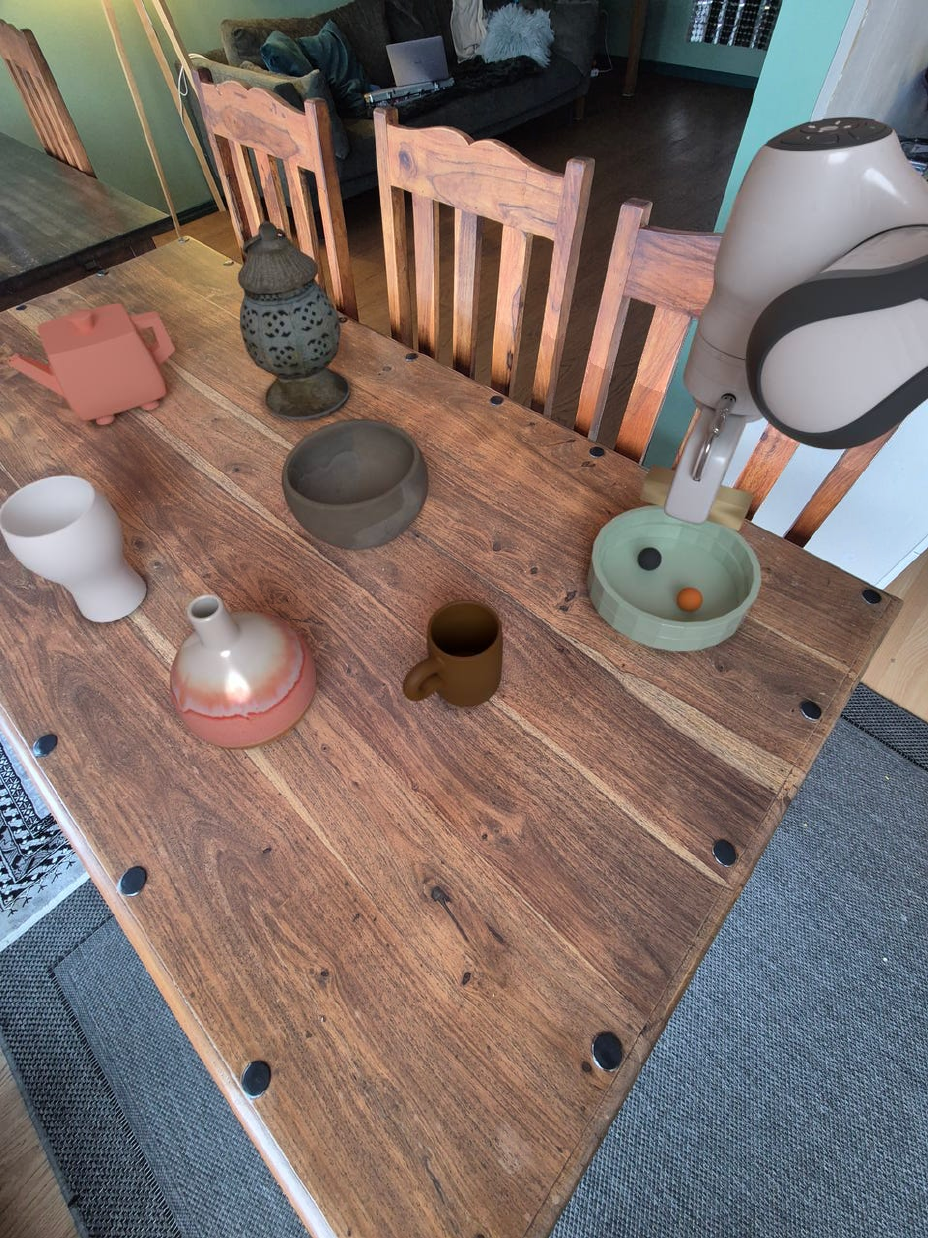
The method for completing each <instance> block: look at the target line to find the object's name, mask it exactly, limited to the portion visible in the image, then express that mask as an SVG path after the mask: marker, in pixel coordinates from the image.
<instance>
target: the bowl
mask: <svg viewBox="0 0 928 1238" xmlns="http://www.w3.org/2000/svg"><path fill="white" fill-rule="evenodd" d="M429 480H430V479H429V471H428V466H427V463H426V460H425V457H424V455H423V452H422V450H421V448H420V446H419V444H418V443H417V442H416V440H415V439H414V438H413V436H412V435H410V433H408V432H407V431H406V430H405V429H403V428H402V427H400V426H397V425H395V424H393V423H391V422H386V421H383V420H378V419H369V418H353V419H352V418H350V419H344V420H338V421H335V422H332V423H329V424H326V425H324V426H322V427H320V428H318V429H316V430H314V431H312V432H310V433H308V434H307V435H305V436H304V437H303V438H302V439H301V440H299V441H298V442H297V443H296V444H295V445H294V446H293V447H292V449H291V450H290V451H289V452H288V455H287V456H286V457H285V459H284V462H283V465H282V471H281V487H282V491H283V496H284V499H285V502H286V505H287V507H288V509H289V510H290V512H291V515H292V516H293V517H294V518H295V520H296V522H297V523H298V524H299V525H300V527H302V528H303V530H305V532H307V533H308V534H310V535H311V536H313V537H314V538H316V539H318V540H320V541H321V542H323V543H326V544H327V545H330V546H333V547H336V548H338V549H343V550H347V551H364V550H370V549H375V548H379V547H383V546H384V545H387V544H389V543H391V542H392V541H394V540H395V539H396V538H397V537H399V536H400V535H402V534H403V533H404V532H405V531H406V530H407V529H408V528H409V527H410V526H411V525H412V524H413V523H414V522H415V520H416V519H417V518H418V516H419V515H420V513H421V512H422V510H423V508H424V506H425V504H426V500H427V498H428V494H429V484H430V483H429V482H430V481H429Z"/></svg>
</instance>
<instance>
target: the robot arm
mask: <svg viewBox="0 0 928 1238" xmlns="http://www.w3.org/2000/svg"><path fill="white" fill-rule="evenodd" d="M721 236H722V237H721V240H720V243H719V247H718V250H717V253H716V257H715V261H714V264H713V285H712V290H711V294H710V296H709V299H708V301H707V302H706V304H705V305H704V307H703V309H702V311H701V312H700V314H699V317H698V321H697V324H696V328H695V331H694V334H693V338H692V342H691V345H690V349H689V353H688V356H687V360H686V363H685V365H684V370H683V373H682V382H683V385H684V387H685V389H686V390H687V392H688V393H689V394H690V395H691V397H692V401H693V403H694V405H695V407H696V408H697V409H698V410H699V411H700V412H699V414H698V415H697V418H696V420H695V422H694V423H693V426H692V427H691V430H690V432H689V434H688V436H687V438H686V439H685V440H686V441H685V442H684V445H683V448H682V450H681V453H680V456H679V458H678V462H677V465H676V467H675V470H674V471H675V473H674V476H673V479H672V482H671V485H670V488H669V491H668V494H667V497H666V500H665V504H664V512H665V514H666V515H667V516H669V517H672V518H675V519H677V520H680V521H683V522H687V523H690V524H694V525H702V524H703V523H704V522H705V521H706V519H707V518H708V516H709V513H710V511H711V508H712V506H713V503H714V501H715V499H716V496H717V494H718V491H719V489H720V487H721V485H723V482H724V479H725V477H726V474H727V472H728V470H729V467H730V465H731V462H732V459H733V458H734V455H735V453H736V451H737V448H738V445H739V443H740V440H741V438H742V435H743V433H744V430H745V429H746V426H747V424H751V423H754V422H755V423H756V422H757V421H759V420H760V421H761V420H762V419H765V420H766V421H767V422H768V424H769V425H771V426H772V427H773V428H774V429H775V430H777V431H778V432H779V433H781V434H782V435H784V436H786V437H787V438H789V439H791V440H793V441H795V442H797V443H800V444H802V445H805V446H808V447H811V448H815V449H822V450H829V451H831V450H833V451H837V450H838V451H839V450H841V451H842V450H848V449H853V448H858V447H861V446H864V445H867V444H869V443H871V442H874V441H875V440H877V439H879V438H881V437H882V436H884V435H886V434H887V433H888V432H890V431H891V430H893V429H894V428H895V427H896V426H897V425H899V424H900V423H901V422H902V421H904V419H906V418H907V417H908V416H909V415H910V414H911V413H913V412H914V411H915V410H916V409H917V408H918V407H920V406H921V405H922V404H923V403H924V402H926V401H927V400H928V180H927V179H925V178H924V177H923V176H922V174H920V172H918V170H917V169H916V168H915V167H914V166H913V164H912V163H911V162H910V160H909V159H908V158H907V156H906V154H905V152H904V150H903V147H902V146H901V143H900V140H899V137H898V134H897V131H896V130H895V129H894V128H893V127H891V125H889V124H886V123H884V122H882V121H878V120H876V119H874V118H869V117H861V116H839V117H838V116H837V117H828V118H822V119H819V120H812V121H811V120H810V121H805V122H802V123H799V124H797V125H794V126H793V127H790V128H788V129H785V130H784V131H782V132H780V133H779V134H777V135H774V136H773V137H772V138H770V139H769V140H767V141H766V143H765V144H763V145H762V146H761V147H760V148H759V149H758V150H757V151H756V153H755V155H754V156H753V158H752V160H751V162H750V163H749V166H748V167H747V170H746V171H745V174H744V176H743V179H742V181H741V184H740V186H739V188H738V190H737V193H736V196H735V199H734V201H733V203H732V207H731V210H730V213H729V215H728V219H727V221H726V224H725V226H724V230H723V233H722V235H721Z"/></svg>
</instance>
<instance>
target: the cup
mask: <svg viewBox="0 0 928 1238" xmlns="http://www.w3.org/2000/svg"><path fill="white" fill-rule="evenodd" d="M120 520H121V519H120V517H119V516H118V514H117V513H116V511H115V509H114V507H113V506H112V505H111V503H110V501H109V499H108V497H106V496H105V495H104V494H103V493H101V491H100V490H99V489H97V488H96V487H95V486H94V485H93V484H92V483H91V482H89V481H88V480H86V479H85V478H83V477H79V476H76V475H66V474H63V475H62V474H61V475H53V476H49V477H44V478H40V479H38V480H35V481H32V482H30V483H28V484H26V485H25V486H23V487H21V488H19V489H17V490H16V491H15V492H14V493H13V494H11V495H10V496H9V497H8V498H7V499H6V500H5V501H4V502H3V504H2V505H1V507H0V532H1V534H2V536H3V539H4V541H5V543H6V545H7V547H8V550H9V551H10V552H11V553H12V555H14V557H15V558H16V559H17V560H18V562H20V563H21V565H23V566H24V567H25V568H26V569H28V570H30V571H31V572H33V573H34V574H36V575H38V576H39V577H41V578H43V579H45V580H48V581H51V582H52V583H56V584H59V585H61V586H63V588H65V589H66V590H67V591H68V592H69V593H71V595H72V597H73V599H74V602H75V604H76V605H77V607H78V609H79V611H80V613H81V615H82V616H83V617H85V619H87V620H89V621H91V622H94V623H109V622H113V621H117V620H120V619H123V618H125V617H126V616H129V615H130V614H131V613H133V612H134V611H135V610H137V608H139V606H141V604H142V603H143V601H144V599H145V598H146V594H147V584H146V582H145V580H144V579H143V578H142V577H141V575H140V574H139V573H138V572H137V571H136V570H135V569H134V568H132V566H131V565H129V563H128V562H127V559H126V557H125V555H124V551H123V550H124V535H123V530H122V529H123V528H122V524H121V521H120Z"/></svg>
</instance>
